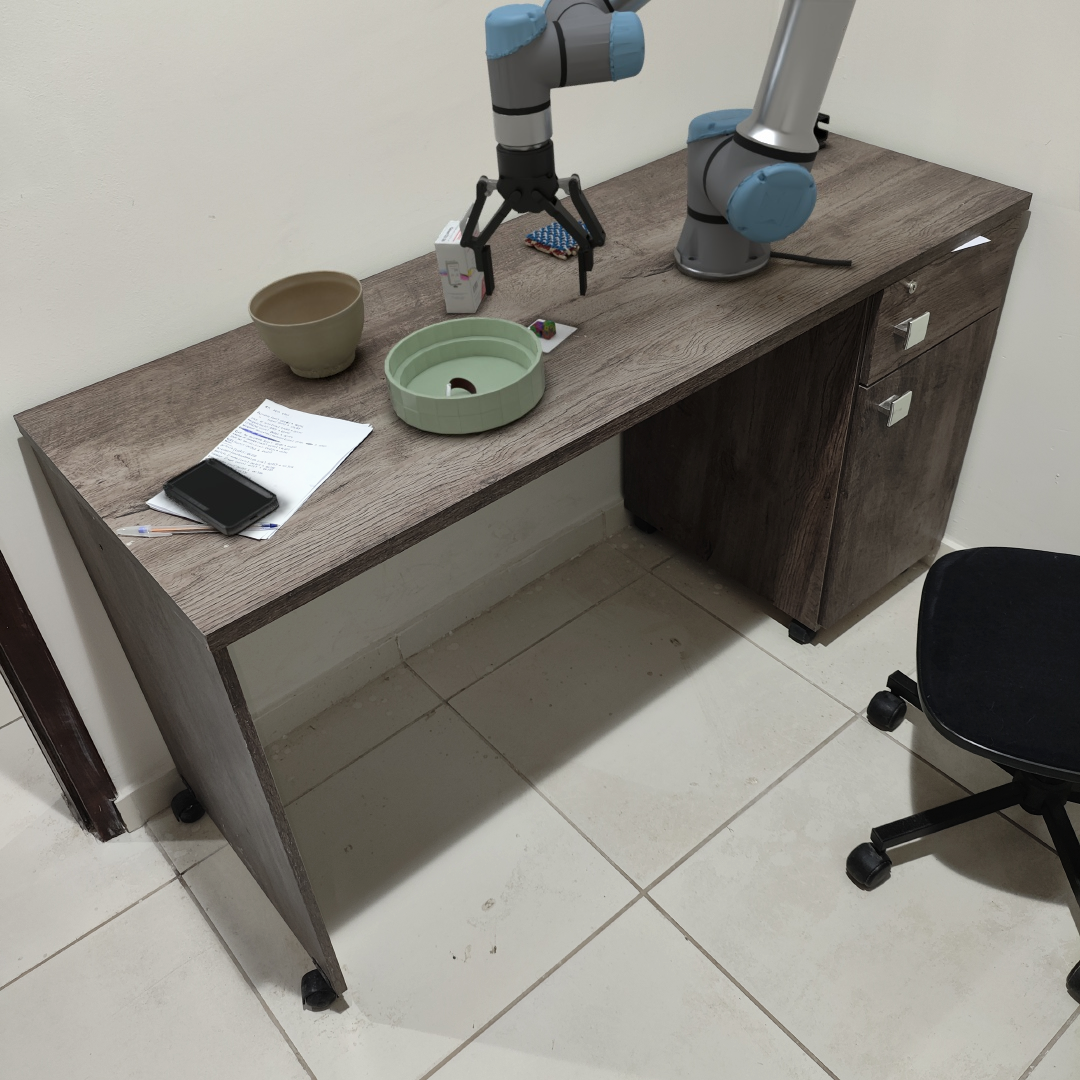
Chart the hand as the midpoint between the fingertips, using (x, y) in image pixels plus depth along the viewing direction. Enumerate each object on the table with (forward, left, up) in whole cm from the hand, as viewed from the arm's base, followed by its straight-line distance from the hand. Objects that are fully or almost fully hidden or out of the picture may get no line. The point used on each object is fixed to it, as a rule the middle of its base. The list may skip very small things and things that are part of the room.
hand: (536, 291), depth 140 cm
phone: (+34, +40, -7) cm, 53 cm away
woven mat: (+1, -32, -7) cm, 33 cm away
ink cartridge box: (+14, -11, -7) cm, 19 cm away
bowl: (+8, +16, -7) cm, 19 cm away
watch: (+8, +20, -7) cm, 22 cm away
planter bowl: (+32, +8, -7) cm, 33 cm away
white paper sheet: (0, 0, -7) cm, 7 cm away
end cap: (-40, -74, -7) cm, 85 cm away
